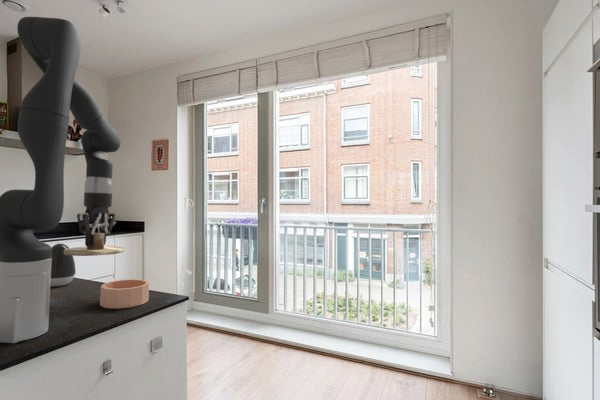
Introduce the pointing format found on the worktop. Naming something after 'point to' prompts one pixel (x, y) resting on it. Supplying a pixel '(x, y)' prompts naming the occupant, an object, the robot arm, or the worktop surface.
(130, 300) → the bowl
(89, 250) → the lid
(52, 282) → the pump dispenser
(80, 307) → the worktop surface
